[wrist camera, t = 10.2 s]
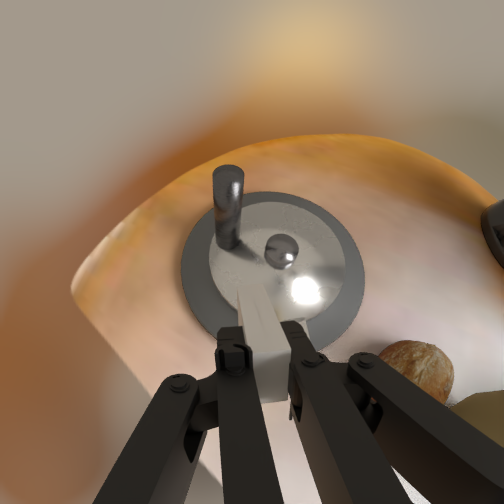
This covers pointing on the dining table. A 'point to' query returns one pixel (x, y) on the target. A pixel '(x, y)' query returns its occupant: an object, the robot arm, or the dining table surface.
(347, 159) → the dining table surface
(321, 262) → the flange plate
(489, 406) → the squeeze bottle
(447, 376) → the bread roll
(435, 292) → the dining table surface
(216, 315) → the base pad
